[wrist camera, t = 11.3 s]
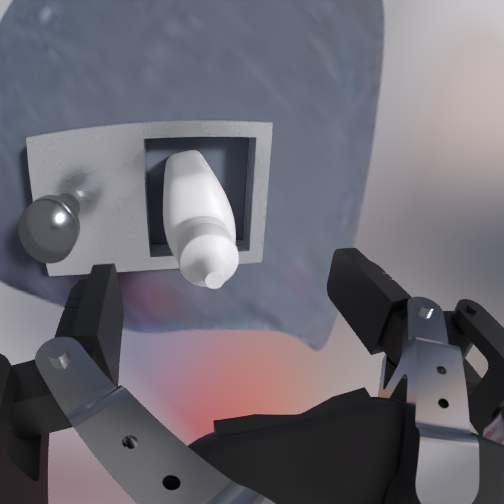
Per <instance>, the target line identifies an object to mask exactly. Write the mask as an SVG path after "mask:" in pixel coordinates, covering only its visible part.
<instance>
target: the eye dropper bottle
mask: <svg viewBox="0 0 504 504" xmlns="http://www.w3.org/2000/svg"><path fill="white" fill-rule="evenodd" d="M163 221H164V229H165V234H166V238H167V241H168V244H169V247H170V249H171V251H172V253H173V255H174V257H175V259H176V260H177V262H178V264H179V269H180V272H182V275H183V276H184V277H185V279H187V281H190V282H191V283H192V284H195V285H197V286H203V287H208V288H211V289H217V288H219V287H221V286H222V285H223V283H224V282H225V281H227V280H228V279H229V278H230V277H231V276H232V275H233V273H235V270H236V268H237V265H238V262H239V253H238V249H237V247H236V245H235V242H236V230H235V222H234V217H233V213H232V209H231V206H230V204H229V201H228V199H227V197H226V194H225V192H224V190H223V189H222V187H221V185H220V183H219V182H218V180H217V178H216V176H215V175H214V173H213V172H212V170H211V168H210V167H209V165H208V164H207V162H206V161H205V159H204V158H203V156H202V155H201V154H200V153H199V152H198V151H196V150H190V151H185V152H180V153H176V154H173V155H171V156H169V158H168V159H167V162H166V166H165V173H164V190H163Z"/></svg>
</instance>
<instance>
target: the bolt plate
mask: <svg viewBox="0 0 504 504" xmlns="http://www.w3.org/2000/svg"><path fill="white" fill-rule="evenodd" d="M272 126H273V123H271V122H266V121H254V120H223V119H189V120H158V121H141V122H127V123H116V124H106V125H96V126H88V127H80V128H73V129H66V130H60V131H53V132H48V133H42V134H37V135H34V136H31V137H28V138H26V142H27V155H28V166H29V175H30V183H31V191H32V198H33V203H31V204H30V205H29V206H28V207H27V208H26V209H25V210H24V211H23V213H22V215H21V217H20V220H19V224H18V233H19V238H20V241H21V244H22V245H23V247H24V249H25V250H26V252H27V253H28V254H29V255H30V256H31V257H33V258H34V259H36V260H38V261H40V262H43V263H46V266H47V270H48V274H49V276H63V275H80V274H90V272H91V269H92V266H93V265H95V264H111V263H114V264H115V266H116V271H117V272H129V271H144V270H160V269H175V268H179V264H178V262H177V260H176V259H175V257H174V255H173V253H172V251H171V249H170V247H169V244H156V245H151V236H150V224H149V209H148V190H147V163H146V139H151V138H172V137H249V140H248V157H247V175H246V193H245V212H244V231H243V239H240V240H236V242H235V245H236V247H237V249H238V253H239V262H238V264H245V263H259V262H262V255H263V243H264V231H265V218H266V206H267V193H268V180H269V167H270V153H271V140H272Z"/></svg>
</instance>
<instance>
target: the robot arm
mask: <svg viewBox="0 0 504 504" xmlns="http://www.w3.org/2000/svg"><path fill="white" fill-rule="evenodd" d="M327 292H328V296H329V298H330V300H331V301H332V302H333V304H334V305H335V306H336V308H337V309H338V310H339V312H340V313H341V314H342V316H343V317H344V318H345V320H346V321H347V322H348V324H349V325H350V327H351V328H352V329H353V331H354V332H355V333H356V335H357V336H358V337H359V339H360V340H361V342H362V343H363V344H364V346H365V347H366V348H367V350H368V351H369V353H370V354H371V355H373V354H376V353H380V352H383V351H384V352H385V356H384V359H383V361H382V369H381V377H380V385H379V392H378V397H370V395H369V393H368V392H367V390H366V389H365V388H361V389H357V390H354V391H351V392H348V393H344V394H341V395H337V396H334V397H332V398H330V399H328V400H326V401H324V402H323V403H321V404H319V405H317V406H315V407H313V408H311V409H310V410H308V411H306V412H304V413H301V414H298V415H263V414H254V415H248V416H242V417H236V418H229V419H223V420H214V432H213V433H210V434H208V435H205V436H203V437H201V438H199V439H197V440H196V441H194V442H193V443H191V444H190V445H188V446H187V445H185V444H184V443H183V442H182V441H181V440H179V439H178V438H177V437H176V436H175V435H174V434H173V433H171V432H170V431H169V430H168V429H167V428H166V427H165V426H164V425H163V424H162V423H160V422H159V421H158V420H157V419H156V418H155V417H154V416H153V415H152V414H151V413H150V412H149V411H148V410H147V409H146V408H145V407H144V406H143V405H142V404H141V403H140V402H139V401H138V400H137V399H136V398H135V397H134V396H133V395H132V394H131V393H130V392H129V391H128V390H127V389H126V388H124V387H123V386H119V387H118V377H119V361H120V348H121V347H120V346H121V336H122V327H123V317H124V314H123V303H122V297H121V292H120V287H119V282H118V276H117V271H116V266H115V264H114V263H111V264H95V265H93V266H92V269H91V272H90V275H89V278H88V280H80V281H79V282H78V283H77V284H76V285H75V286H74V287H73V288H72V289H71V291H70V294H69V297H68V301H67V302H66V305H65V310H64V311H63V313H62V316H61V319H60V322H59V325H58V328H57V331H56V335H55V338H53V339H51V340H49V341H47V342H45V343H44V344H43V345H42V346H41V347H40V348H39V350H38V351H37V353H36V357H35V359H34V360H31V361H28V362H24V363H20V364H16V365H12V366H11V364H10V363H9V361H8V359H7V358H6V357H5V356H4V355H2V354H0V504H48V446H49V433H51V432H55V431H59V430H63V429H67V428H71V427H74V429H75V430H76V431H77V433H78V434H79V436H80V437H81V438H82V439H83V441H84V442H85V444H86V445H87V446H88V447H89V449H90V450H91V451H92V453H93V454H94V455H95V457H96V458H97V459H98V461H99V462H100V463H101V464H102V465H103V467H104V468H105V469H106V470H107V471H108V472H109V474H110V475H111V476H112V477H113V478H114V480H115V481H116V482H117V483H118V484H119V485H120V486H121V487H122V488H123V490H124V491H125V492H126V493H127V494H128V495H129V496H130V497H131V498H132V499H133V500H134V501H135V502H136V503H137V504H504V328H503V327H502V326H501V325H500V324H499V323H498V322H497V321H496V320H495V319H494V318H493V317H492V316H491V315H490V314H489V313H488V312H487V311H486V310H485V309H484V308H483V307H482V306H481V305H479V304H478V303H476V302H474V301H471V300H468V299H463V300H460V301H459V302H458V303H457V305H456V308H455V310H454V311H442V309H441V307H440V306H439V305H438V304H436V303H435V302H434V301H432V300H430V299H428V298H425V297H411V296H410V295H409V294H408V293H407V292H406V291H405V290H404V289H403V288H402V287H401V286H400V285H399V284H398V283H396V282H395V281H394V280H392V278H391V277H390V276H389V275H388V274H386V273H385V271H384V270H383V269H382V268H381V267H379V266H378V265H377V264H375V263H373V262H371V261H370V260H368V259H367V258H366V257H365V256H364V255H363V254H362V253H361V252H360V251H359V250H357V249H356V248H342V249H337V250H335V252H334V254H333V259H332V264H331V268H330V273H329V278H328V282H327ZM473 344H474V345H475V346H476V347H477V348H478V349H479V351H480V352H481V353H482V354H483V355H484V356H485V358H486V359H487V361H488V370H487V372H486V374H485V375H484V377H483V378H481V377H480V376H479V375H478V373H477V372H476V371H475V370H474V368H473V367H472V366H471V365H470V363H469V362H468V361H467V360H466V359H465V357H466V356H467V354H468V353H469V351H470V349H471V348H472V346H473ZM470 422H471V423H472V425H473V427H474V428H475V430H476V431H477V432H478V434H479V435H477V434H475V433H472V432H471V431H470Z"/></svg>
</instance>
